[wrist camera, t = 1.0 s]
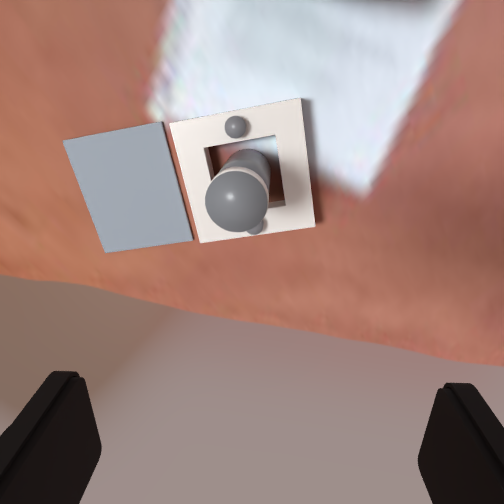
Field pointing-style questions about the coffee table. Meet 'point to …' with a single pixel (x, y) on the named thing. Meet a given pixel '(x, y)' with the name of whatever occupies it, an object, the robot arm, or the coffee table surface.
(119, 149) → the mat
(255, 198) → the cartridge
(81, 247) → the coffee table surface
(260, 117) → the frame
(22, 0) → the coffee table surface
